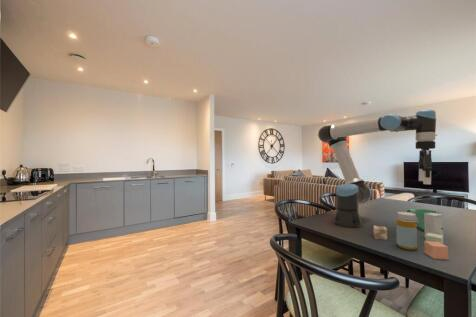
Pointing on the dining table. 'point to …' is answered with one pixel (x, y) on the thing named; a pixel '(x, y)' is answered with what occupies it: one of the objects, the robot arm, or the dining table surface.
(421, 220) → the mug
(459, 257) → the dining table surface
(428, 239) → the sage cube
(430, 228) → the skincare box
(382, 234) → the maple cube
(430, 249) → the terracotta cube
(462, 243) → the dining table surface
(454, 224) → the dining table surface
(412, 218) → the bottle
